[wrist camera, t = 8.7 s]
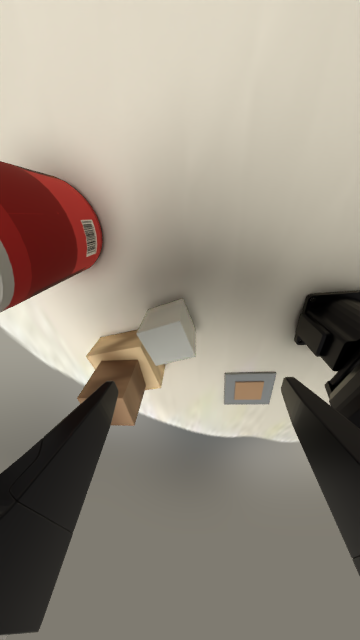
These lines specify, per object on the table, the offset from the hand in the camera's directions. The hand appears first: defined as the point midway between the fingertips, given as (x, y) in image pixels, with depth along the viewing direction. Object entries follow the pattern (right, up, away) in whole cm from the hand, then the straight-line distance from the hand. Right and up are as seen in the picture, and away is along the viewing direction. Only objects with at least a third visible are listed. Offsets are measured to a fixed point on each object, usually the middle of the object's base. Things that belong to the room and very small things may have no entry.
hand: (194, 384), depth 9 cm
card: (+10, -7, +17) cm, 21 cm away
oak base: (-7, -1, +16) cm, 17 cm away
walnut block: (-8, -3, +12) cm, 15 cm away
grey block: (-2, +3, +12) cm, 13 cm away
